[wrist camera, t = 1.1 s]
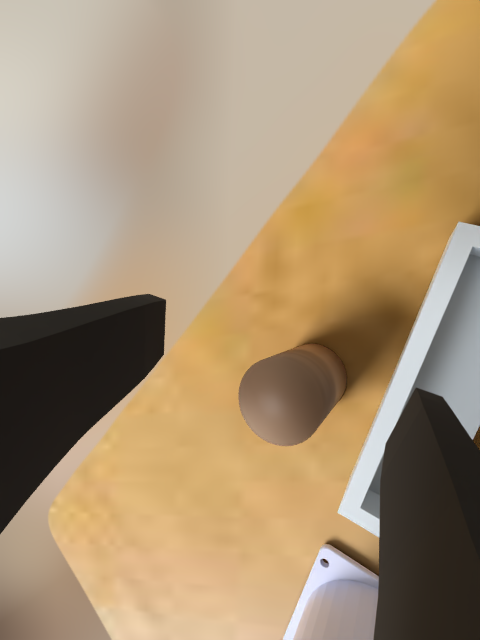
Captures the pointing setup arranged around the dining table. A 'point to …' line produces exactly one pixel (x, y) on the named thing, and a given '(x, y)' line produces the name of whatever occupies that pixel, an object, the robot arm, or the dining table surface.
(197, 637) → the dining table surface
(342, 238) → the dining table surface
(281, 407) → the peg
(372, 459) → the bore box
